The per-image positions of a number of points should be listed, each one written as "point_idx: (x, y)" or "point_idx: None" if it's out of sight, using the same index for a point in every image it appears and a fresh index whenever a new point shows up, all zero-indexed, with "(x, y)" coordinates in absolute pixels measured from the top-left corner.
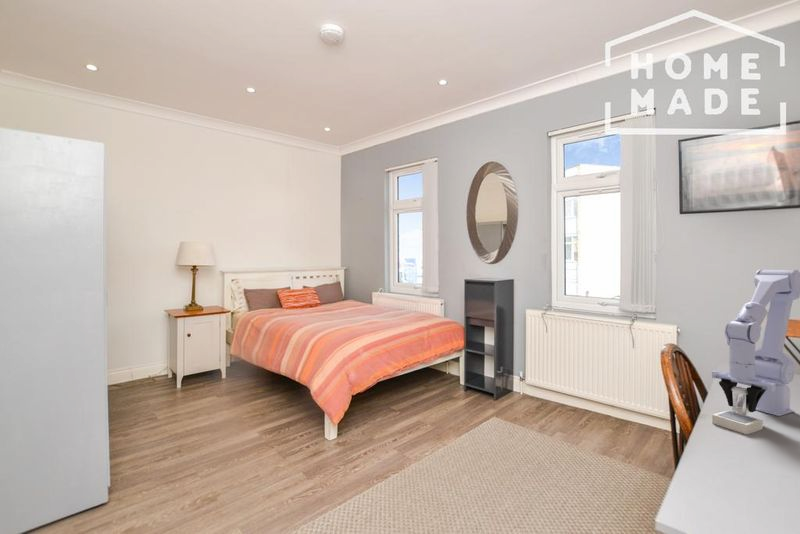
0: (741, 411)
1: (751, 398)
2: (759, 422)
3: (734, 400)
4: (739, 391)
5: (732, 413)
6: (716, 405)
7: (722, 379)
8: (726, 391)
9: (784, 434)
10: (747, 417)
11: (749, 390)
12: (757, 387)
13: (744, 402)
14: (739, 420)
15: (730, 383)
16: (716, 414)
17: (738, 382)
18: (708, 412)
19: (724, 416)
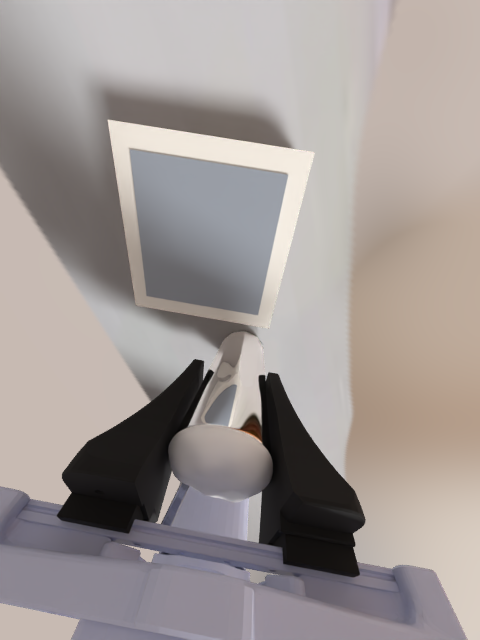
0: (226, 350)
1: (159, 407)
2: (134, 276)
3: (249, 386)
4: (208, 440)
5: (238, 289)
6: (325, 410)
7: (347, 560)
8: (294, 435)
9: (104, 297)
10: (176, 284)
11: (125, 458)
12: (85, 512)
13: (206, 385)
14: (168, 180)
15: (280, 519)
16: (294, 185)
17: (228, 545)
18: (339, 324)
19: (247, 179)
